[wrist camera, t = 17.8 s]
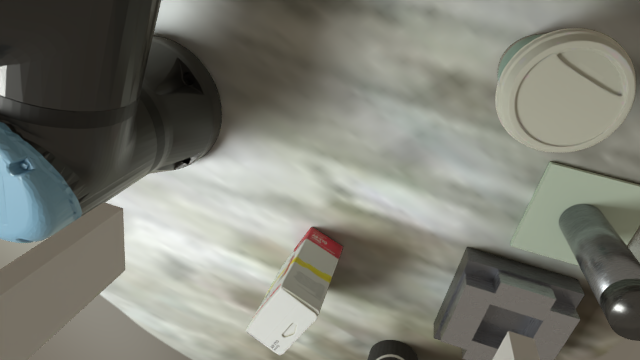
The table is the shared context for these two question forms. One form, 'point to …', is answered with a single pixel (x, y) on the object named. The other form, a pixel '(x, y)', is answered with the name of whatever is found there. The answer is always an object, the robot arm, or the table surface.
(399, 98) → the table surface
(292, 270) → the ink box
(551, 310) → the block
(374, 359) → the coffee cup
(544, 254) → the mat
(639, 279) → the dark glossy cylinder
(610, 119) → the coffee cup
